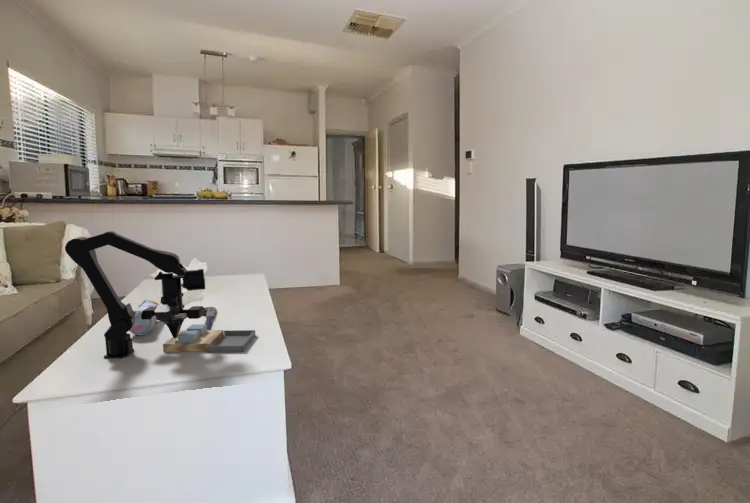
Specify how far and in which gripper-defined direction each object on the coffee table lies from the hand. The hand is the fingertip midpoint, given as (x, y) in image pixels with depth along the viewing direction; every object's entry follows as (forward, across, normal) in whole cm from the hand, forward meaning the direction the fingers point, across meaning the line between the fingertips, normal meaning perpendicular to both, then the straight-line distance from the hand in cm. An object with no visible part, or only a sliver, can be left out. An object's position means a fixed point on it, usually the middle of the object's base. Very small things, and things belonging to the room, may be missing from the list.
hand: (175, 337), depth 144 cm
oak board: (+3, +5, +3) cm, 7 cm away
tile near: (+1, +4, 0) cm, 4 cm away
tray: (+4, +18, +3) cm, 19 cm away
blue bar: (+4, -4, +30) cm, 30 cm away
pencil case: (+4, -21, +22) cm, 30 cm away
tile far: (+1, +4, +7) cm, 8 cm away
